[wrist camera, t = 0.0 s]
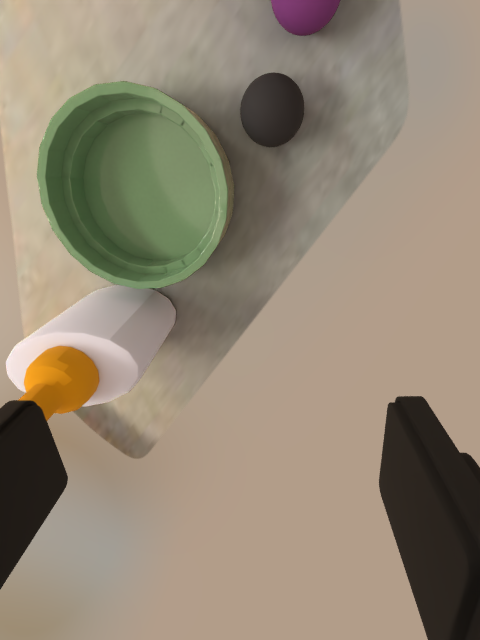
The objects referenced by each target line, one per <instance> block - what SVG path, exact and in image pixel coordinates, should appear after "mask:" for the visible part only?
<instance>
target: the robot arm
mask: <svg viewBox="0 0 480 640" xmlns="http://www.w3.org/2000/svg"><path fill="white" fill-rule="evenodd" d="M67 480H68V476H67V473H66V471H65V468H64V465H63V463H62V460H61V457H60V455H59V452H58V449H57V447H56V445H55V442H54V439H53V437H52V434H51V431H50V429H49V426H48V423H47V421H46V418H45V416H44V413H43V410H42V409H41V407H40V406H38V405H37V404H36V403H35V402H34V401H31V400H16V401H15V400H14V401H9V402H7V403H6V404H5V405H4V406H3V407H2V408H0V589H1V587H2V586H3V584H4V583H5V581H6V580H7V578H8V577H9V575H10V573H11V572H12V570H13V569H14V567H15V566H16V564H17V563H18V561H19V559H20V558H21V556H22V555H23V553H24V552H25V550H26V549H27V547H28V545H29V544H30V542H31V541H32V539H33V538H34V536H35V534H36V533H37V531H38V530H39V528H40V527H41V525H42V524H43V522H44V520H45V519H46V518H47V516H48V514H49V513H50V511H51V510H52V508H53V507H54V505H55V504H56V502H57V500H58V499H59V497H60V496H61V494H62V493H63V491H64V489H65V488H66V485H67ZM379 487H380V493H381V497H382V500H383V503H384V506H385V509H386V512H387V515H388V518H389V521H390V524H391V527H392V530H393V533H394V537H395V540H396V543H397V546H398V549H399V552H400V555H401V558H402V561H403V564H404V567H405V570H406V573H407V576H408V579H409V582H410V586H411V589H412V592H413V595H414V598H415V601H416V604H417V607H418V610H419V613H420V616H421V619H422V622H423V626H424V628H425V632H426V635H427V638H428V640H480V467H479V466H478V465H477V463H476V462H475V460H474V459H473V458H472V457H471V456H470V455H468V454H467V453H460V452H459V451H458V449H457V448H456V447H455V445H454V443H453V442H452V440H451V439H450V437H449V435H448V434H447V432H446V431H445V429H444V428H443V426H442V425H441V423H440V422H439V420H438V418H437V417H436V416H435V414H434V412H433V411H432V409H431V408H430V407H429V405H428V403H427V401H426V400H425V399H424V398H423V397H421V396H409V397H408V396H404V397H397V398H396V400H395V403H389V404H388V408H387V417H386V425H385V434H384V442H383V451H382V460H381V468H380V477H379Z"/></svg>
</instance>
